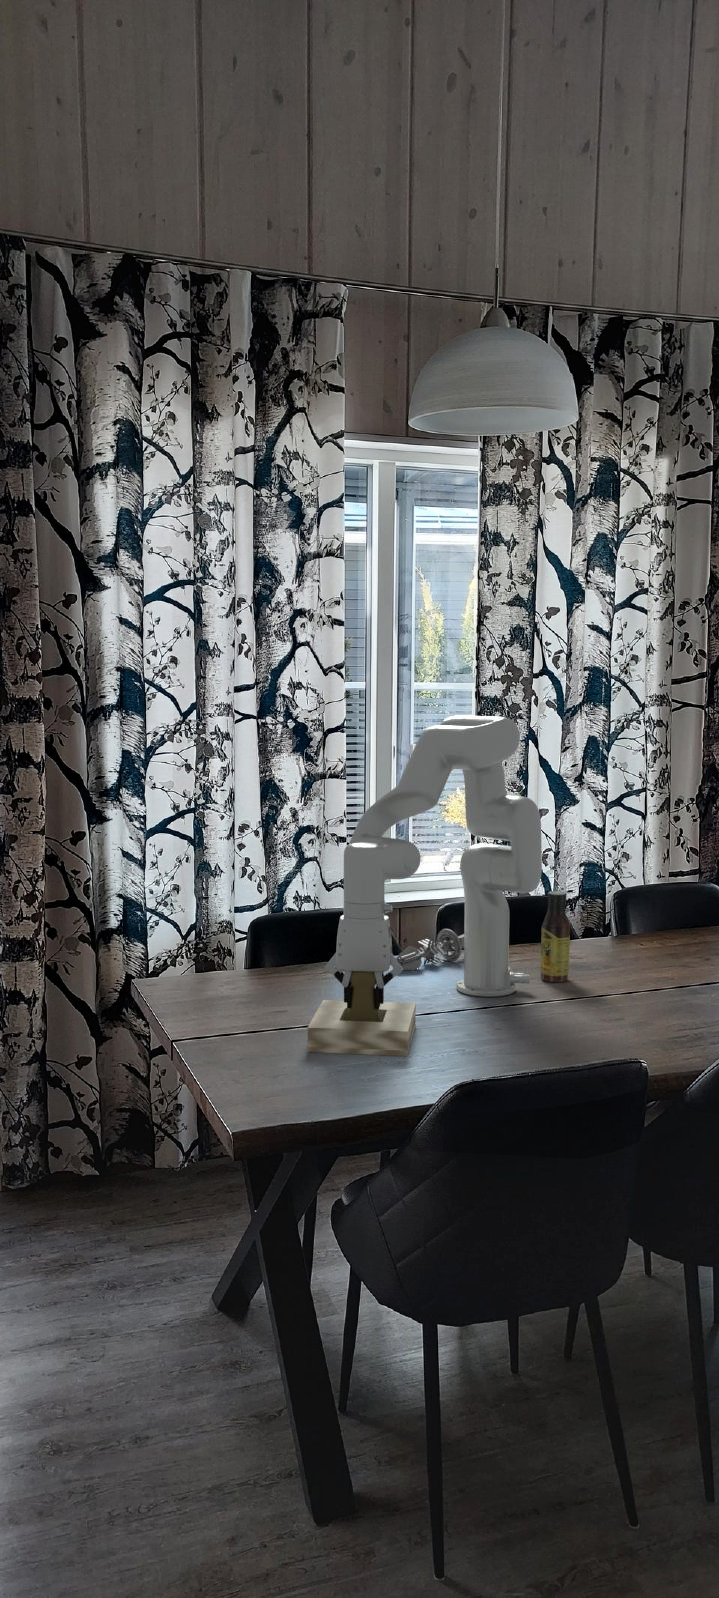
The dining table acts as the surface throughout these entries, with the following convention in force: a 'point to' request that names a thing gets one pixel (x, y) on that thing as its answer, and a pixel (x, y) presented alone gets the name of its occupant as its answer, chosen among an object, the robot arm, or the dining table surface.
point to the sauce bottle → (555, 940)
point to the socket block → (362, 1030)
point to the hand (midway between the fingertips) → (363, 1006)
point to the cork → (363, 997)
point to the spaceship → (432, 950)
